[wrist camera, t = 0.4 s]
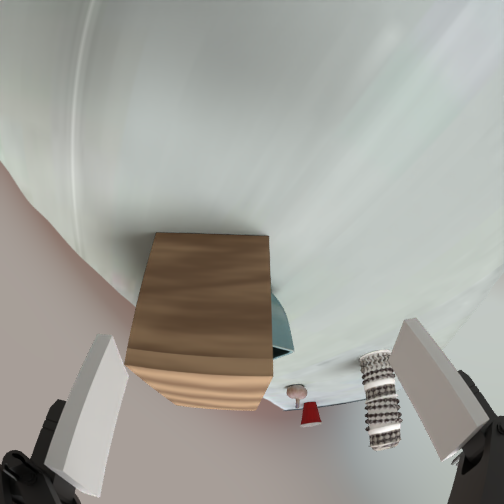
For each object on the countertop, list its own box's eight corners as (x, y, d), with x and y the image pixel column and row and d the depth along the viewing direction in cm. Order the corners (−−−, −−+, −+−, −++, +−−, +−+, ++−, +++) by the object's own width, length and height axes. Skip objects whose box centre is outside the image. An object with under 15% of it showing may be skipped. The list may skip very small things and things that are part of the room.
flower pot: (292, 289, 38) (296, 352, 32) (250, 312, 43) (249, 368, 37) (240, 264, 33) (237, 335, 28) (201, 293, 39) (194, 354, 33)
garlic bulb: (299, 388, 90) (300, 409, 84) (281, 387, 87) (281, 409, 82) (311, 383, 84) (313, 406, 79) (292, 382, 82) (293, 406, 77)
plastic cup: (326, 400, 117) (327, 423, 109) (312, 404, 124) (313, 426, 117) (307, 400, 113) (308, 425, 105) (294, 404, 121) (295, 427, 113)
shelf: (156, 232, 29) (124, 364, 20) (268, 236, 29) (273, 376, 20) (185, 323, 46) (176, 405, 37) (256, 326, 47) (255, 410, 38)
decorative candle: (378, 361, 67) (387, 446, 51) (351, 361, 66) (359, 453, 50) (399, 348, 60) (412, 442, 45) (371, 349, 59) (383, 451, 43)
